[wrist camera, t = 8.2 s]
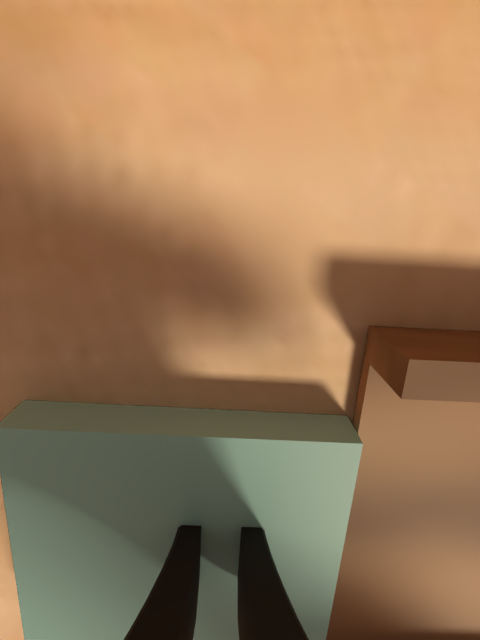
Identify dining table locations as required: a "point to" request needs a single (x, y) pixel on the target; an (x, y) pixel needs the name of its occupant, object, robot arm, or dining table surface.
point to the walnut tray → (414, 492)
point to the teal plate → (169, 509)
